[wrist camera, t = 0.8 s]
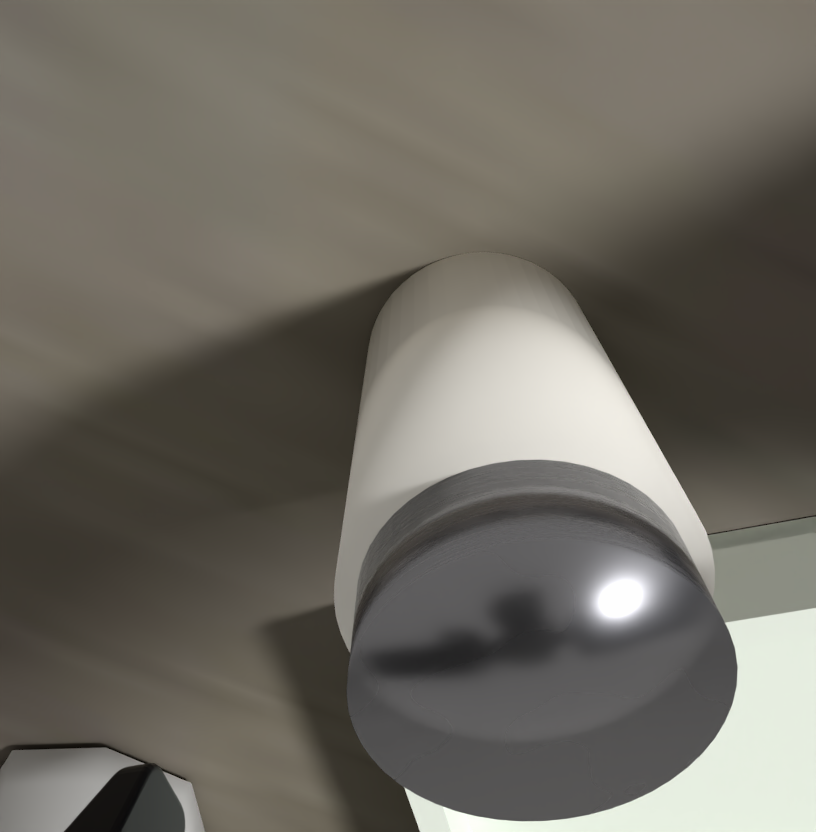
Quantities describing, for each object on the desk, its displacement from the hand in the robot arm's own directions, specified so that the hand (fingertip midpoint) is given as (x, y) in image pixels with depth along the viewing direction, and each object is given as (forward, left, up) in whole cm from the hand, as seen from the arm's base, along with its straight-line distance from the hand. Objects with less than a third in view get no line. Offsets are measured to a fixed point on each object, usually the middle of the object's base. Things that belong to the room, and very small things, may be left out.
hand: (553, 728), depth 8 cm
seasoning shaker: (0, 0, -10) cm, 10 cm away
